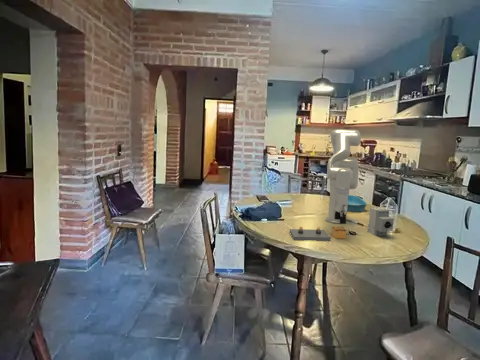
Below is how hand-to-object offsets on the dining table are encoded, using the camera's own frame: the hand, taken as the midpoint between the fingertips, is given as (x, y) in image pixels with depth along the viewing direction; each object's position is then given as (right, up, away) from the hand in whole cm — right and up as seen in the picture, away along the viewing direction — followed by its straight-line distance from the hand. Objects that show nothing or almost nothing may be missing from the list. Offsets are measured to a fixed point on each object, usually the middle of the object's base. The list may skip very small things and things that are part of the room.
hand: (339, 221), depth 195 cm
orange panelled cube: (0, -9, +2) cm, 9 cm away
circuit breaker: (+26, -9, +8) cm, 28 cm away
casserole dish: (+28, +1, +76) cm, 81 cm away
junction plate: (-17, -9, +1) cm, 19 cm away
